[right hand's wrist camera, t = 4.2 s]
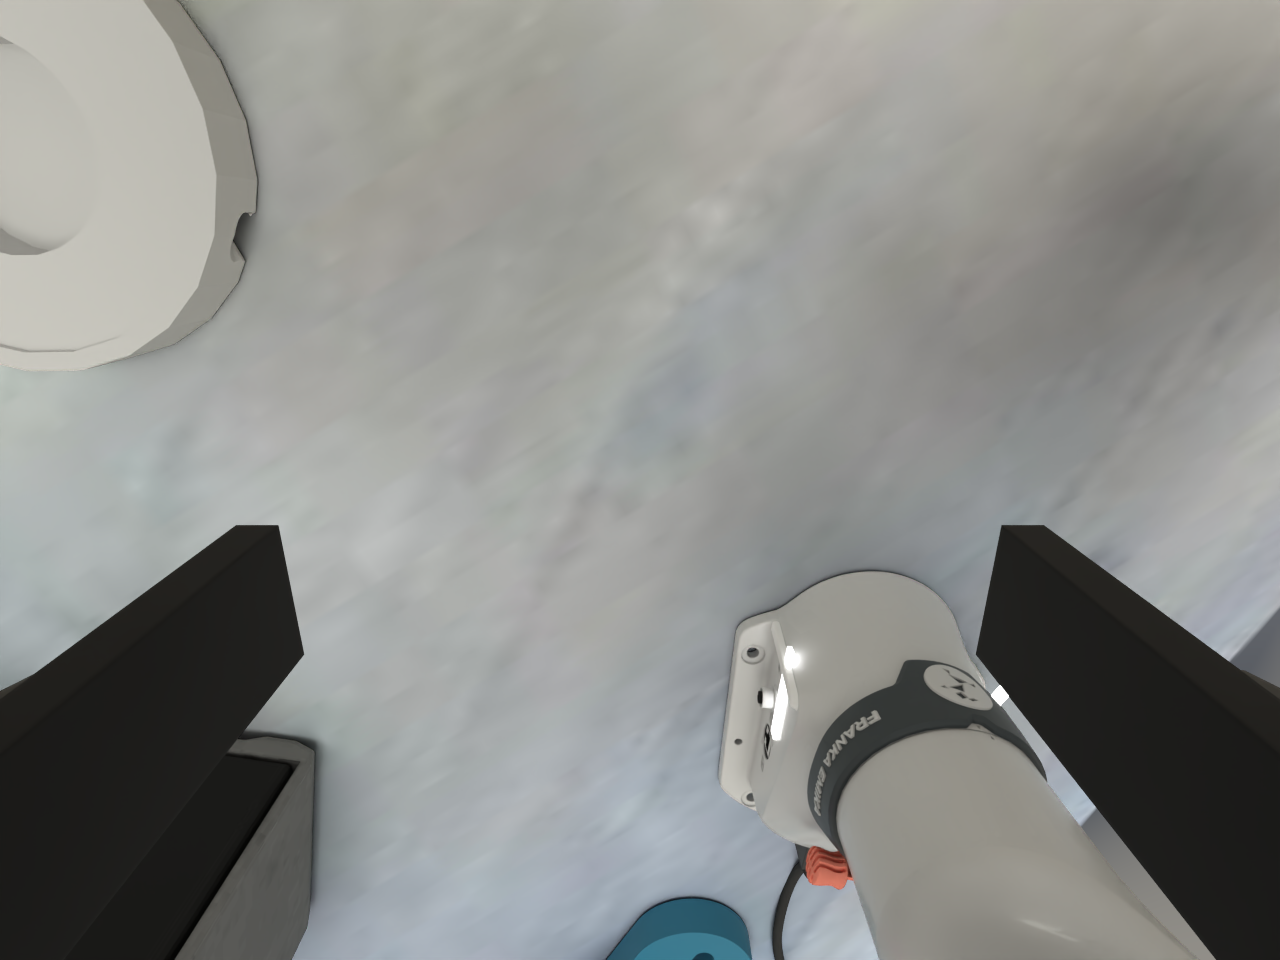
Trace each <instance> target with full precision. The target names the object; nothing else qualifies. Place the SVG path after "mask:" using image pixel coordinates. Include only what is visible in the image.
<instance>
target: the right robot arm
mask: <svg viewBox="0 0 1280 960" xmlns="http://www.w3.org/2000/svg"><path fill="white" fill-rule="evenodd" d="M303 655H304V651H303V646H302V641H301V636H300V631H299V626H298V621H297V616H296V611H295V606H294V601H293V596H292V591H291V586H290V581H289V576H288V571H287V566H286V561H285V556H284V551H283V546H282V541H281V536H280V531H279V526H278V525H236V526H235V527H233V528H232V529H230V530H229V531H228V532H226V533H225V534H224V535H222V536H221V537H220V538H218V539H217V540H216V541H214V542H213V543H211V544H210V545H209V546H207V547H206V548H205V549H203V550H202V551H201V552H199V553H198V554H196V555H195V556H194V557H192V558H191V559H190V560H188V561H187V562H186V563H184V564H183V565H182V566H180V567H179V568H177V569H176V570H175V571H173V572H172V573H171V574H169V575H168V576H167V577H165V578H164V579H163V580H161V581H160V582H158V583H157V584H156V585H154V586H153V587H152V588H150V589H149V590H148V591H146V592H145V593H144V594H142V595H141V596H139V597H138V598H137V599H135V600H134V601H133V602H131V603H130V604H129V605H127V606H126V607H125V608H123V609H122V610H120V611H119V612H118V613H116V614H115V615H114V616H112V617H111V618H110V619H108V620H107V621H106V622H104V623H103V624H101V625H100V626H99V627H97V628H96V629H95V630H93V631H92V632H91V633H89V634H88V635H87V636H85V637H84V638H82V639H81V640H80V641H78V642H77V643H76V644H74V645H73V646H72V647H70V648H69V649H68V650H66V651H65V652H63V653H62V654H61V655H59V656H58V657H57V658H55V659H54V660H53V661H51V662H50V663H49V664H47V665H46V666H44V667H43V668H42V669H40V670H39V671H38V672H36V673H35V674H33V675H31V676H29V677H27V678H25V679H23V680H21V681H19V682H17V683H15V684H13V685H11V686H9V687H7V688H5V689H3V690H1V691H0V960H64V959H65V958H66V956H67V955H68V954H69V952H70V951H71V950H72V949H73V947H74V946H75V945H76V944H77V942H78V941H79V940H80V939H81V937H82V936H83V935H84V933H85V932H86V931H87V930H88V928H89V927H90V926H91V925H92V923H93V922H94V921H95V919H96V918H97V917H98V916H99V914H100V913H101V912H102V911H103V909H104V908H105V907H106V905H107V904H108V903H109V902H110V900H111V899H112V898H113V897H114V895H115V894H116V893H117V892H118V890H119V889H120V888H121V886H122V885H123V884H124V883H125V881H126V880H127V879H128V878H129V876H130V875H131V874H132V872H133V871H134V870H135V869H136V867H137V866H138V865H139V864H140V862H141V861H142V860H143V859H144V857H145V856H146V855H147V853H148V852H149V851H150V850H151V848H152V847H153V846H154V845H155V843H156V842H157V841H158V839H159V838H160V837H161V836H162V834H163V833H164V832H165V831H166V829H167V828H168V827H169V825H170V824H171V823H172V822H173V820H174V819H175V818H176V817H177V815H178V814H179V813H180V812H181V810H182V809H183V808H184V806H185V805H186V804H187V803H188V801H189V800H190V799H191V798H192V796H193V795H194V794H195V792H196V791H197V790H198V789H199V787H200V786H201V785H202V784H203V782H204V781H205V780H206V778H207V777H208V776H209V775H210V773H211V772H212V771H213V770H214V768H215V767H216V766H217V765H218V763H219V762H220V761H221V759H222V758H223V757H224V756H225V754H226V753H227V752H228V751H229V749H230V748H231V747H232V745H233V744H234V743H235V742H236V740H237V739H238V738H239V737H240V735H241V734H242V733H243V731H244V730H245V729H246V728H247V726H248V725H249V724H250V723H251V721H252V720H253V719H254V718H255V716H256V715H257V714H258V712H259V711H260V710H261V709H262V707H263V706H264V705H265V704H266V702H267V701H268V700H269V698H270V697H271V696H272V695H273V693H274V692H275V691H276V690H277V688H278V687H279V686H280V684H281V683H282V682H283V681H284V679H285V678H286V677H287V676H288V674H289V673H290V672H291V671H292V669H293V668H294V667H295V665H296V664H297V663H298V662H299V660H300V659H301V658H302V657H303ZM976 655H977V657H978V658H979V659H980V660H981V662H982V663H983V664H984V665H985V667H986V668H987V669H988V671H989V672H990V673H991V674H992V676H993V677H994V678H995V679H996V681H997V682H998V683H999V684H1000V686H1001V687H1002V688H1003V690H1004V691H1005V692H1006V693H1007V695H1008V696H1009V697H1010V698H1011V700H1012V701H1013V702H1014V704H1015V705H1016V706H1017V707H1018V709H1019V710H1020V711H1021V712H1022V714H1023V715H1024V716H1025V718H1026V719H1027V720H1028V721H1029V723H1030V724H1031V725H1032V726H1033V728H1034V729H1035V730H1036V731H1037V733H1038V734H1039V735H1040V737H1041V738H1042V739H1043V740H1044V742H1045V743H1046V744H1047V745H1048V747H1049V748H1050V749H1051V751H1052V752H1053V753H1054V754H1055V756H1056V757H1057V758H1058V759H1059V761H1060V762H1061V763H1062V765H1063V766H1064V767H1065V768H1066V770H1067V771H1068V772H1069V773H1070V775H1071V776H1072V777H1073V778H1074V780H1075V781H1076V782H1077V784H1078V785H1079V786H1080V787H1081V789H1082V790H1083V791H1084V792H1085V794H1086V795H1087V796H1088V798H1089V799H1090V800H1091V801H1092V803H1093V804H1094V805H1095V806H1096V808H1097V809H1098V810H1099V811H1100V813H1101V814H1102V815H1103V817H1104V818H1105V819H1106V820H1107V822H1108V823H1109V824H1110V825H1111V827H1112V828H1113V829H1114V831H1115V832H1116V833H1117V834H1118V836H1119V837H1120V838H1121V839H1122V841H1123V842H1124V843H1125V845H1126V846H1127V847H1128V848H1129V850H1130V851H1131V852H1132V853H1133V855H1134V856H1135V857H1136V858H1137V860H1138V861H1139V862H1140V864H1141V865H1142V866H1143V867H1144V869H1145V870H1146V871H1147V872H1148V874H1149V875H1150V876H1151V878H1152V879H1153V880H1154V881H1155V883H1156V884H1157V885H1158V886H1159V888H1160V889H1161V890H1162V892H1163V893H1164V894H1165V895H1166V897H1167V898H1168V899H1169V900H1170V902H1171V903H1172V904H1173V905H1174V907H1175V908H1176V909H1177V911H1178V912H1179V913H1180V914H1181V916H1182V917H1183V918H1184V919H1185V921H1186V922H1187V923H1188V925H1189V926H1190V927H1191V928H1192V930H1193V931H1194V932H1195V933H1196V935H1197V936H1198V937H1199V939H1200V940H1201V941H1202V942H1203V944H1204V945H1205V946H1206V947H1207V949H1208V950H1209V951H1210V952H1211V954H1212V955H1213V956H1214V958H1215V959H1216V960H1280V688H1279V687H1277V686H1275V685H1273V684H1271V683H1269V682H1267V681H1265V680H1263V679H1261V678H1259V677H1257V676H1255V675H1252V674H1250V673H1249V672H1247V671H1244V670H1240V669H1238V668H1237V667H1236V666H1234V665H1233V664H1231V663H1230V662H1229V661H1227V660H1226V659H1225V658H1223V657H1222V656H1221V655H1219V654H1218V653H1217V652H1215V651H1214V650H1212V649H1211V648H1210V647H1208V646H1207V645H1206V644H1204V643H1203V642H1202V641H1200V640H1199V639H1198V638H1196V637H1195V636H1193V635H1192V634H1191V633H1189V632H1188V631H1187V630H1185V629H1184V628H1183V627H1181V626H1180V625H1179V624H1177V623H1176V622H1174V621H1173V620H1172V619H1170V618H1169V617H1168V616H1166V615H1165V614H1164V613H1162V612H1161V611H1160V610H1158V609H1157V608H1155V607H1154V606H1153V605H1151V604H1150V603H1149V602H1147V601H1146V600H1145V599H1143V598H1142V597H1141V596H1139V595H1138V594H1136V593H1135V592H1134V591H1132V590H1131V589H1130V588H1128V587H1127V586H1126V585H1124V584H1123V583H1122V582H1120V581H1119V580H1117V579H1116V578H1115V577H1113V576H1112V575H1111V574H1109V573H1108V572H1107V571H1105V570H1104V569H1103V568H1101V567H1100V566H1098V565H1097V564H1096V563H1094V562H1093V561H1092V560H1090V559H1089V558H1088V557H1086V556H1085V555H1084V554H1082V553H1081V552H1079V551H1078V550H1077V549H1075V548H1074V547H1073V546H1071V545H1070V544H1069V543H1067V542H1066V541H1064V540H1063V539H1062V538H1060V537H1059V536H1058V535H1056V534H1055V533H1054V532H1052V531H1051V530H1050V529H1048V528H1047V527H1045V526H1044V525H1002V526H1001V531H1000V536H999V541H998V546H997V551H996V556H995V561H994V566H993V571H992V576H991V581H990V586H989V591H988V596H987V601H986V606H985V611H984V616H983V621H982V626H981V631H980V636H979V641H978V646H977V651H976Z"/></svg>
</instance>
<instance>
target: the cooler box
mask: <svg viewBox="0 0 1280 960" xmlns="http://www.w3.org/2000/svg"><path fill="white" fill-rule="evenodd" d="M314 760H315V752H314V751H313V750H312V749H310V748H308V747H307V746H305V745H303V744H301V743H299V742H297V741H294V740H287V739H280V738H274V737H267V736H266V737H260V738H254V739H248V740H241V739H237V740H236V742H235V743H234V744H233V745H232V747H231V748H230V749H229V751H228V752H227V753H226V754H225V756H224V757H223V758H222V759H221V761H220V762H219V763H218V765H217V766H216V767H215V768H214V770H213V771H212V772H211V773H210V775H209V776H208V777H207V778H206V780H205V781H204V782H203V784H202V785H201V786H200V787H199V789H198V790H197V791H196V792H195V794H194V795H193V796H192V798H191V799H190V800H189V801H188V803H187V804H186V805H185V806H184V808H183V809H182V810H181V812H180V813H179V814H178V815H177V817H176V818H175V819H174V820H173V822H172V823H171V824H170V825H169V827H168V828H167V829H166V831H165V832H164V833H163V834H162V836H161V837H160V838H159V839H158V841H157V842H156V843H155V845H154V846H153V847H152V848H151V850H150V851H149V852H148V853H147V855H146V856H145V857H144V859H143V860H142V861H141V862H140V864H139V865H138V866H137V867H136V869H135V870H134V871H133V872H132V874H131V875H130V876H129V878H128V879H127V880H126V881H125V883H124V884H123V885H122V886H121V888H120V889H119V890H118V892H117V893H116V894H115V895H114V897H113V898H112V899H111V900H110V902H109V903H108V904H107V905H106V907H105V908H104V909H103V911H102V912H101V913H100V914H99V916H98V917H97V918H96V919H95V921H94V922H93V923H92V925H91V926H90V927H89V928H88V930H87V931H86V932H85V933H84V935H83V936H82V937H81V939H80V940H79V941H78V942H77V944H76V945H75V946H74V947H73V949H72V950H71V951H70V952H69V954H68V955H67V956H66V958H65V959H64V960H292V958H293V956H294V954H295V952H296V950H297V948H298V945H299V943H300V941H301V939H302V937H303V935H304V933H305V931H306V929H307V925H308V918H309V912H310V893H311V860H312V826H313V793H314Z"/></svg>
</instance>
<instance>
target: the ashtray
mask: <svg viewBox="0 0 1280 960" xmlns="http://www.w3.org/2000/svg"><path fill="white" fill-rule="evenodd" d="M256 195H257V176H256V171H255V166H254V160H253V155H252V150H251V145H250V139H249V134H248V129H247V124H246V120H245V117H244V115H243V113H242V110H241V108H240V106H239V103H238V101H237V99H236V96H235V94H234V92H233V90H232V87H231V85H230V83H229V80H228V78H227V76H226V73H225V71H224V69H223V66H222V64H221V62H220V60H219V58H218V57H217V56H216V54H215V53H214V51H213V50H212V48H211V47H210V46H209V44H208V43H207V41H206V40H205V38H204V37H203V36H202V34H201V33H200V31H199V30H198V29H197V27H196V26H195V24H194V23H193V21H192V20H191V19H190V17H189V16H188V14H187V13H186V11H185V10H184V9H183V7H182V6H181V4H180V3H179V2H178V1H177V0H0V365H4V366H8V367H12V368H17V369H21V370H25V371H73V370H85V369H89V368H92V367H96V366H100V365H104V364H108V363H112V362H116V361H120V360H124V359H128V358H131V357H135V356H138V355H141V354H145V353H148V352H151V351H154V350H158V349H161V348H164V347H167V346H171V345H174V344H176V343H177V342H178V341H180V340H181V339H183V338H184V337H186V336H187V335H188V334H190V333H191V332H193V331H194V330H196V329H197V328H198V327H200V326H201V325H203V324H204V323H206V322H207V321H208V320H210V319H211V318H212V317H213V315H214V314H215V313H216V311H217V310H218V309H219V307H220V306H221V304H222V303H223V302H224V300H225V299H226V298H227V296H228V295H229V294H230V292H231V291H232V290H233V288H234V287H235V286H236V284H237V283H238V281H239V278H240V275H241V272H242V269H243V267H244V264H245V260H244V259H243V257H242V255H241V254H240V252H239V250H238V249H237V247H236V245H235V244H234V242H233V238H234V236H235V231H236V227H237V223H238V220H239V218H240V216H241V215H242V214H243V213H245V212H246V213H248V214H249V215H250V217H251V215H252V214H253V213H256Z"/></svg>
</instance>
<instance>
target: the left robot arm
mask: <svg viewBox="0 0 1280 960" xmlns="http://www.w3.org/2000/svg"><path fill="white" fill-rule="evenodd" d="M750 648H756V650H755V651H754V652H748V649H750ZM985 688H986V685H985V681H984V679H983V677H982V675H981V673H980V672H979V670H978V668H977V667H976V666H975V664H974V663H973V662H972V661H971V660H970V658H969V656H968V653H967V651H966V649H965V646H964V644H963V641H962V639H961V636H960V633H959V630H958V627H957V624H956V621H955V618H954V616H953V614H952V612H951V611H950V609H949V608H948V606H947V605H946V604H945V602H944V601H943V600H942V599H941V598H940V597H939V596H938V595H937V594H936V593H935V592H934V591H932V590H931V589H930V588H928V587H927V586H925V585H923V584H922V583H920V582H918V581H916V580H913V579H911V578H908V577H905V576H902V575H899V574H894V573H888V572H878V571H865V572H855V573H849V574H844V575H840V576H836V577H833V578H830V579H828V580H825V581H823V582H821V583H818V584H816V585H814V586H813V587H811V588H809V589H807V590H806V591H804V592H803V593H801V594H800V595H798V596H797V597H796V598H794V599H793V600H792V601H790V602H789V603H788V604H786V605H784V606H783V607H781V608H779V609H777V610H774V611H770V612H767V613H763V614H760V615H757V616H754V617H751V618H749V619H747V620H745V621H743V622H742V623H741V624H740V625H739V626H738V628H737V630H736V634H735V642H734V650H733V658H732V666H731V674H730V682H729V690H728V698H727V706H726V714H725V722H724V730H723V738H722V746H721V754H720V762H719V771H718V779H719V782H720V786H721V788H722V789H723V790H724V791H725V792H726V793H727V794H728V795H729V796H730V797H732V798H733V799H734V800H736V801H737V802H739V803H741V804H742V805H744V806H746V807H748V808H750V809H752V810H755V811H757V812H758V815H759V817H760V819H761V820H762V822H763V823H764V824H765V825H766V826H767V827H768V828H769V829H770V830H771V831H773V832H774V833H775V834H777V835H779V836H780V837H782V838H784V839H786V840H788V841H790V842H793V843H795V845H796V849H797V853H798V857H799V861H800V862H799V863H798V864H797V865H796V866H795V867H794V868H793V870H792V872H791V874H790V875H789V877H788V879H787V882H786V884H785V886H784V888H783V891H782V893H781V896H780V900H779V903H778V907H777V911H776V916H775V922H774V928H773V952H774V957H775V960H784V957H783V951H782V930H783V924H784V919H785V914H786V911H787V907H788V903H789V900H790V897H791V895H792V892H793V890H794V887H795V885H796V883H797V881H798V880H799V878H800V876H801V875H802V874H803V873H804V874H805V876H806V877H807V878H808V880H809V882H810V883H812V885H819V886H823V885H829V886H833V887H835V888H836V889H842V888H843V887H844V886H845V884H846V882H847V879H848V880H853V881H854V884H855V887H856V890H857V893H858V896H859V899H860V902H861V905H862V908H863V911H864V914H865V917H866V920H867V923H868V926H869V929H870V932H871V935H872V938H873V941H874V945H875V948H876V951H877V954H878V957H879V960H1199V959H1198V958H1197V957H1196V956H1195V955H1194V954H1193V953H1192V952H1191V951H1190V950H1189V949H1188V948H1186V946H1184V945H1183V944H1182V943H1181V942H1180V941H1179V940H1178V939H1177V938H1176V937H1175V936H1174V935H1173V934H1172V933H1171V932H1170V931H1169V930H1168V929H1167V928H1166V927H1165V926H1164V925H1163V924H1162V923H1161V922H1160V921H1159V920H1158V919H1157V918H1156V917H1155V916H1154V915H1153V914H1152V913H1151V912H1150V911H1149V910H1148V909H1147V908H1146V906H1145V905H1144V904H1143V903H1142V902H1141V901H1140V900H1139V899H1138V898H1137V897H1136V896H1135V894H1134V893H1133V892H1132V891H1131V890H1130V889H1129V888H1128V886H1127V885H1126V884H1125V883H1124V882H1123V881H1122V880H1121V878H1120V877H1119V876H1118V875H1117V874H1116V872H1115V871H1114V870H1113V868H1112V867H1111V866H1110V864H1109V863H1108V862H1107V860H1106V859H1105V858H1104V857H1103V855H1102V854H1101V853H1100V851H1099V850H1098V849H1097V847H1096V846H1095V845H1094V844H1093V842H1092V841H1091V840H1090V838H1089V837H1088V836H1087V834H1086V833H1085V832H1084V831H1083V829H1082V828H1081V827H1080V825H1079V824H1078V823H1077V821H1076V820H1075V819H1074V818H1073V816H1072V815H1071V814H1070V812H1069V811H1068V810H1067V808H1066V807H1065V806H1064V804H1063V803H1062V802H1061V800H1060V799H1059V798H1058V796H1057V795H1056V794H1055V792H1054V791H1053V790H1052V788H1051V787H1050V786H1049V784H1048V783H1047V778H1046V774H1045V771H1044V768H1043V766H1042V763H1041V762H1040V760H1039V758H1038V757H1037V755H1036V753H1035V752H1034V751H1033V749H1032V748H1031V746H1030V745H1029V743H1028V742H1027V740H1026V739H1025V737H1024V736H1023V735H1022V733H1021V732H1020V730H1019V729H1018V728H1017V726H1016V725H1015V724H1014V722H1013V721H1012V720H1011V718H1010V717H1009V716H1008V714H1007V713H1006V712H1005V710H1004V709H1003V708H1002V707H1001V706H1000V705H1001V704H1002V703H1003V702H1004V701H1005V700H1006V699H1007V698H1008V697H1009V696H1008V695H1007V693H1006V692H1005V691H1004V690H1003V688H1002V687H1001V686H999V687H998V688H997V689H996V690H995V691H994V693H993V694H992V695H990V694H989V693H988V692H987V690H986V689H985ZM749 793H753V794H749Z"/></svg>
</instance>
